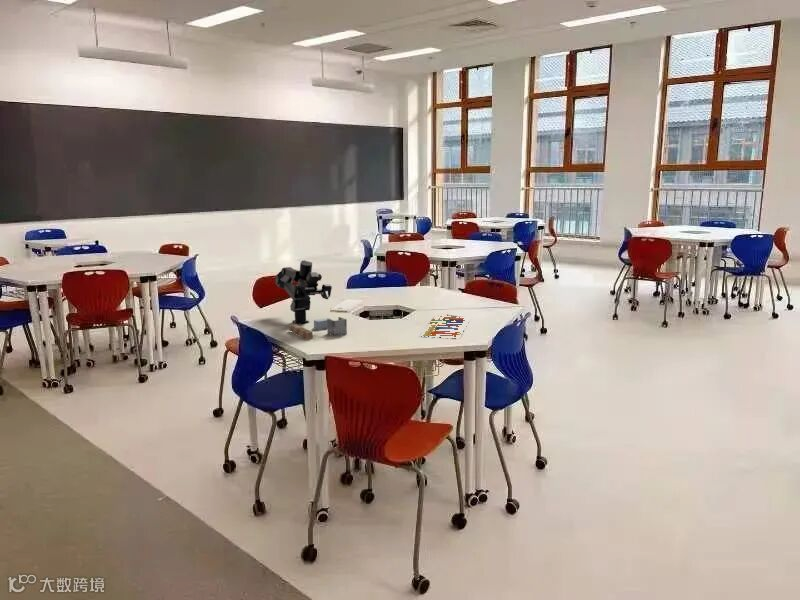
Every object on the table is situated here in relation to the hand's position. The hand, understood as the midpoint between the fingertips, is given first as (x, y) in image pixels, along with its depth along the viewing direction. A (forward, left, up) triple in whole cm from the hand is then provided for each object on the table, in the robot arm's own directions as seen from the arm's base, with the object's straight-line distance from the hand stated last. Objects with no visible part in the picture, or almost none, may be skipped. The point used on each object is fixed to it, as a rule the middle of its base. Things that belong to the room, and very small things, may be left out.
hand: (319, 298), depth 279 cm
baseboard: (-45, +42, -17) cm, 64 cm away
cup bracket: (+6, +6, -17) cm, 19 cm away
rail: (-2, -9, -17) cm, 19 cm away
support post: (-8, +6, -17) cm, 20 cm away
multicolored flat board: (+25, +57, -17) cm, 65 cm away
